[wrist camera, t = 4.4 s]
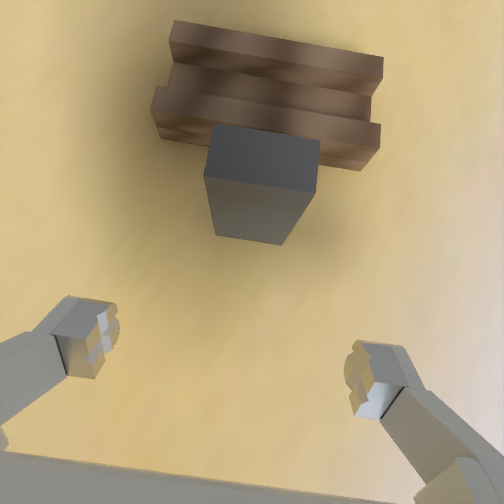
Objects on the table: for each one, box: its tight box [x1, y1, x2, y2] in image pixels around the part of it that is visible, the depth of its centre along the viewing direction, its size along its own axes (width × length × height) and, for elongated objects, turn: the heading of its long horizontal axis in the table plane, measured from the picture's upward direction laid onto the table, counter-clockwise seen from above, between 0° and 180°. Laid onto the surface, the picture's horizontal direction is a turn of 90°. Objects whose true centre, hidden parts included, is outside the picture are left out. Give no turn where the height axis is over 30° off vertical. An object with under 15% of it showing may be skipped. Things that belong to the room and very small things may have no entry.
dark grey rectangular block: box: [204, 123, 321, 245], centre depth 19 cm, size 3×6×10 cm, turn 82°
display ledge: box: [150, 20, 384, 171], centre depth 25 cm, size 18×9×4 cm, turn 82°
